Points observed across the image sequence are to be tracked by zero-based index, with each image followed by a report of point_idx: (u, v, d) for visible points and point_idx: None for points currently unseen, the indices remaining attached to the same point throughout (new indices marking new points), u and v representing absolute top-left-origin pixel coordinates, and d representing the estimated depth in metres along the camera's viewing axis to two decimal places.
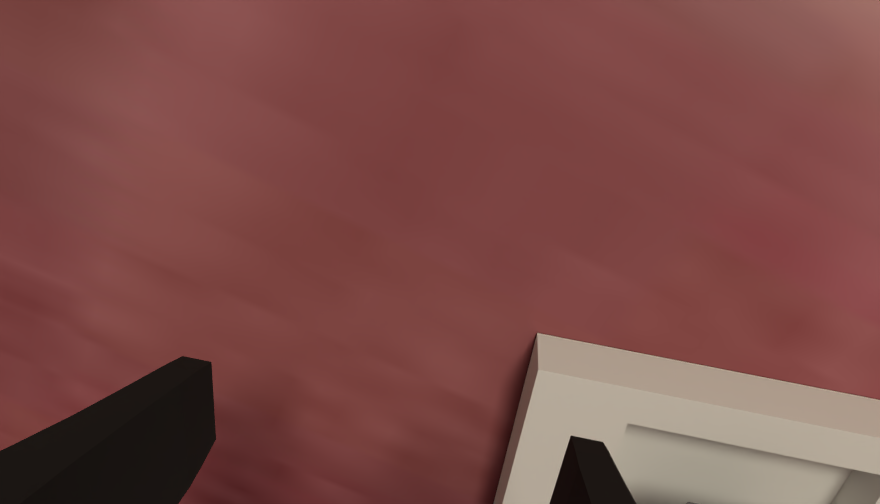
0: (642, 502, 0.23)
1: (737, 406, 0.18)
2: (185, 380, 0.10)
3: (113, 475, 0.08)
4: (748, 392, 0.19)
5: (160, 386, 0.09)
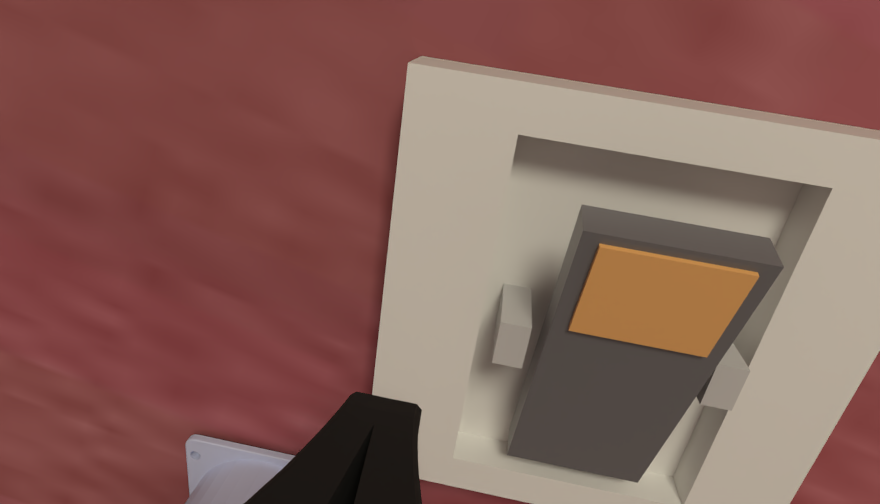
0: (553, 277, 0.19)
1: (644, 100, 0.15)
2: (376, 420, 0.09)
3: None
4: (662, 99, 0.16)
5: (357, 427, 0.09)
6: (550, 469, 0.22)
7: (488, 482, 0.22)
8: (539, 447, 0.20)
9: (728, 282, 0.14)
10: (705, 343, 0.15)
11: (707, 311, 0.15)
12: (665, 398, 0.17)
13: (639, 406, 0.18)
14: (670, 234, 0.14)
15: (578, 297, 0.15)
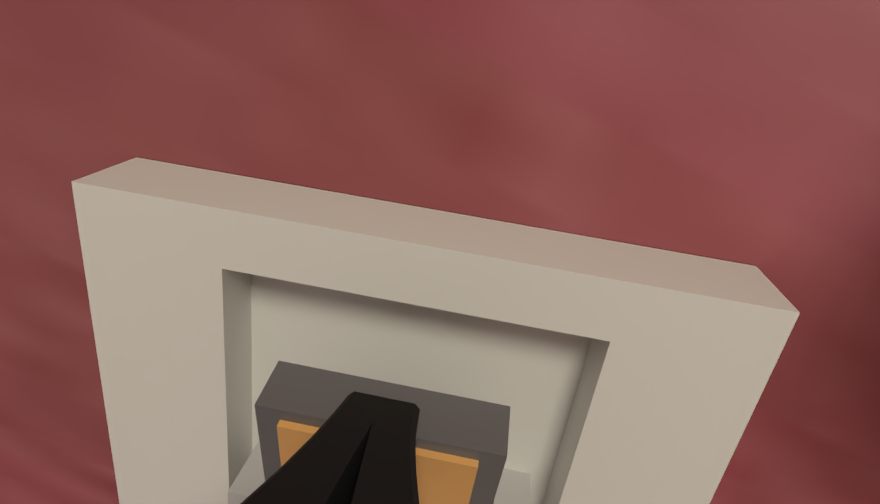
0: None
1: (366, 231, 0.12)
2: (374, 419, 0.09)
3: None
4: (406, 222, 0.13)
5: (355, 427, 0.09)
6: None
7: None
8: None
9: (444, 472, 0.11)
10: None
11: (434, 501, 0.11)
12: None
13: None
14: None
15: None
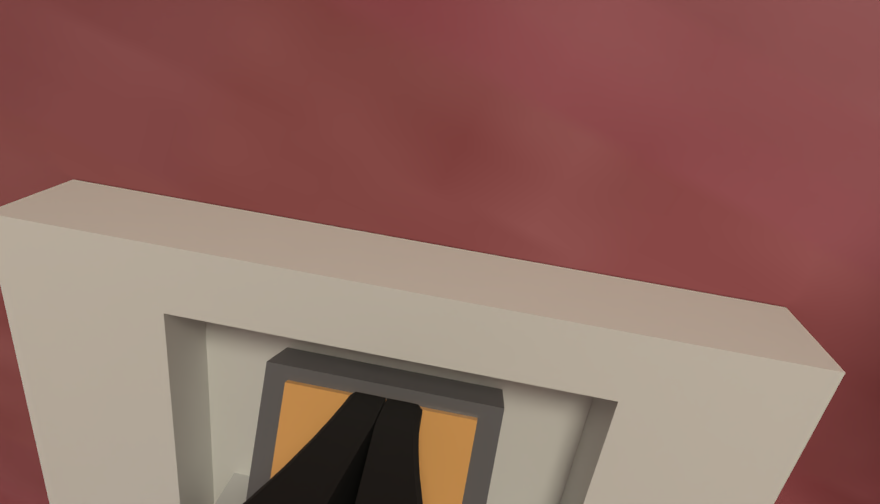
0: None
1: (331, 272, 0.10)
2: (375, 419, 0.09)
3: None
4: (380, 258, 0.11)
5: (356, 427, 0.09)
6: None
7: None
8: None
9: (444, 431, 0.11)
10: None
11: (431, 482, 0.11)
12: None
13: None
14: (378, 374, 0.12)
15: (273, 470, 0.11)
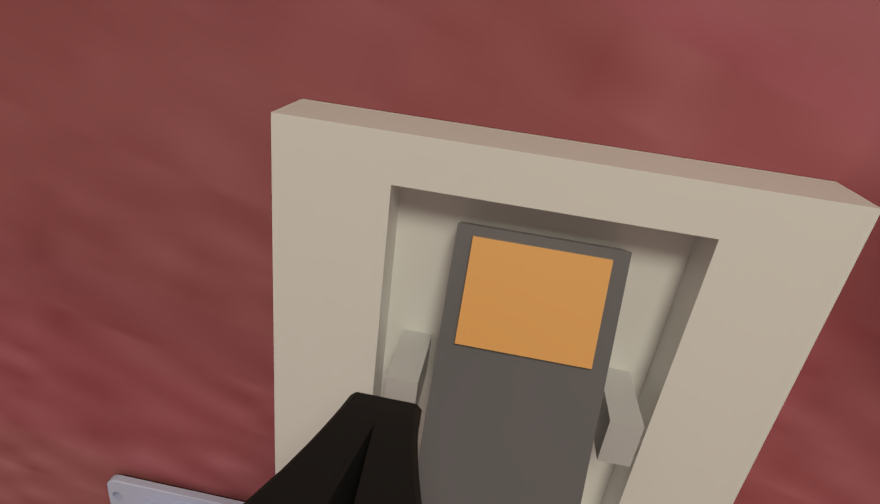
0: None
1: (517, 149, 0.15)
2: (376, 419, 0.09)
3: None
4: (543, 145, 0.15)
5: (357, 427, 0.09)
6: None
7: None
8: None
9: (589, 268, 0.15)
10: (585, 349, 0.16)
11: (579, 306, 0.16)
12: (564, 441, 0.16)
13: (540, 458, 0.16)
14: (535, 234, 0.16)
15: (461, 302, 0.16)
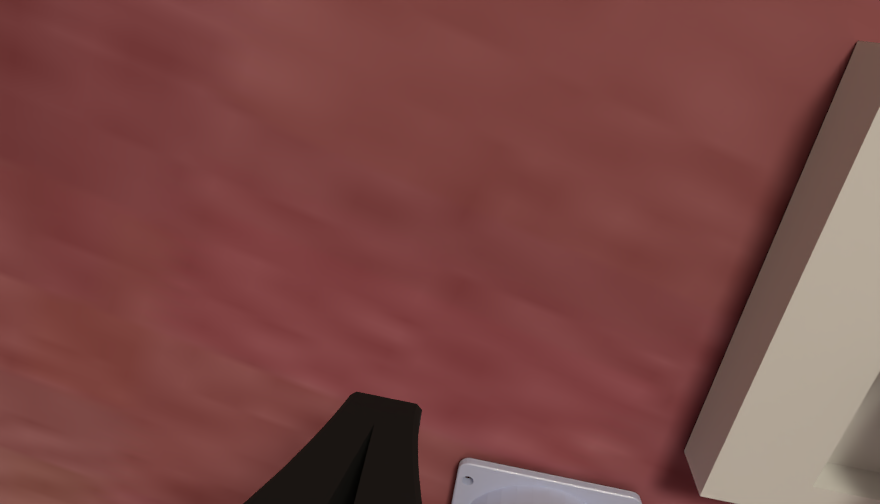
0: None
1: None
2: (376, 420, 0.09)
3: None
4: None
5: (357, 427, 0.09)
6: None
7: None
8: None
9: None
10: None
11: None
12: None
13: None
14: None
15: None
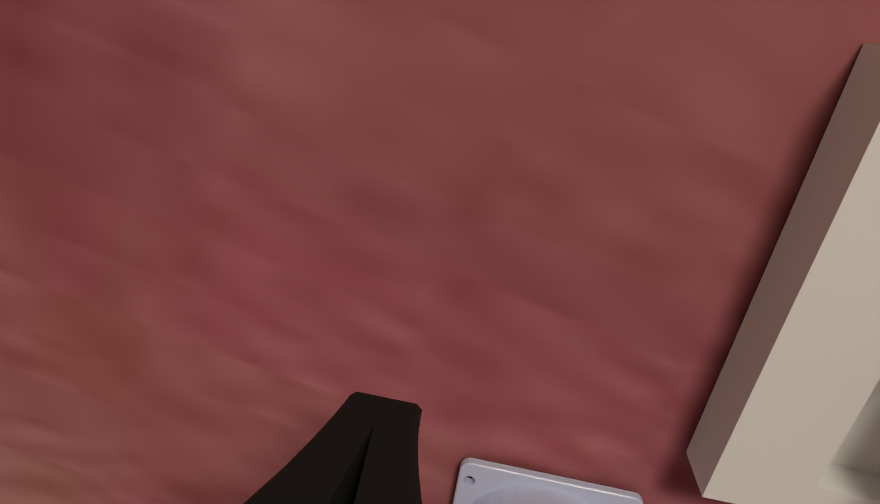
0: None
1: None
2: (376, 420, 0.09)
3: None
4: None
5: (357, 427, 0.09)
6: None
7: None
8: None
9: None
10: None
11: None
12: None
13: None
14: None
15: None
